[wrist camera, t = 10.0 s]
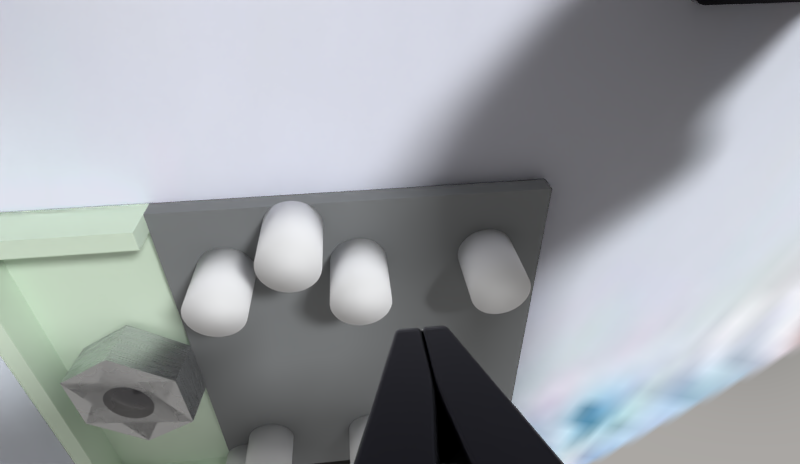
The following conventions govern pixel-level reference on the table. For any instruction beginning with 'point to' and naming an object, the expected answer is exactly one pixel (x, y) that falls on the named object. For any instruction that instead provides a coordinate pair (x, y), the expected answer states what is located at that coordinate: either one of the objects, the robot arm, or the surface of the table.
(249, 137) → the table surface
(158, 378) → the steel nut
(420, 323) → the spacer field
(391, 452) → the robot arm
